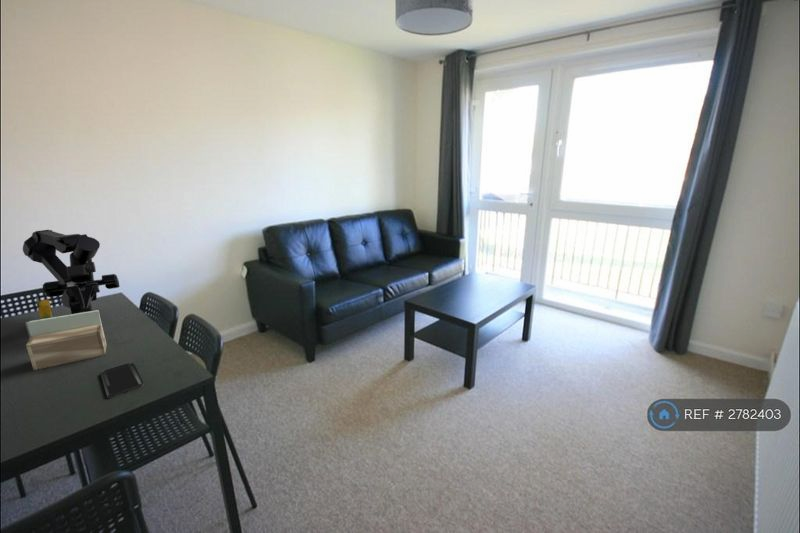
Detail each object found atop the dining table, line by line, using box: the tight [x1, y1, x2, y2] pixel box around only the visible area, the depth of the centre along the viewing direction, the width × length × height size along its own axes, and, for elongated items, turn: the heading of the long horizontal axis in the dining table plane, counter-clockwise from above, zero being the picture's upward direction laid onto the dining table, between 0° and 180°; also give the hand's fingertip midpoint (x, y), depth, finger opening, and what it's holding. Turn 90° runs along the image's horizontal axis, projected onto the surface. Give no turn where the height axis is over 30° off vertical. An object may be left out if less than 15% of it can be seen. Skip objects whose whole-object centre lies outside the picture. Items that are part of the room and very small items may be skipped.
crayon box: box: [35, 297, 54, 320], centre depth 126 cm, size 7×3×12 cm, turn 42°
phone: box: [99, 362, 144, 399], centre depth 100 cm, size 8×1×15 cm
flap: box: [24, 309, 107, 343], centre depth 111 cm, size 1×16×12 cm, turn 124°
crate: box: [25, 324, 107, 371], centre depth 109 cm, size 6×16×8 cm, turn 125°
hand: (84, 308), depth 119 cm, fingers closed
